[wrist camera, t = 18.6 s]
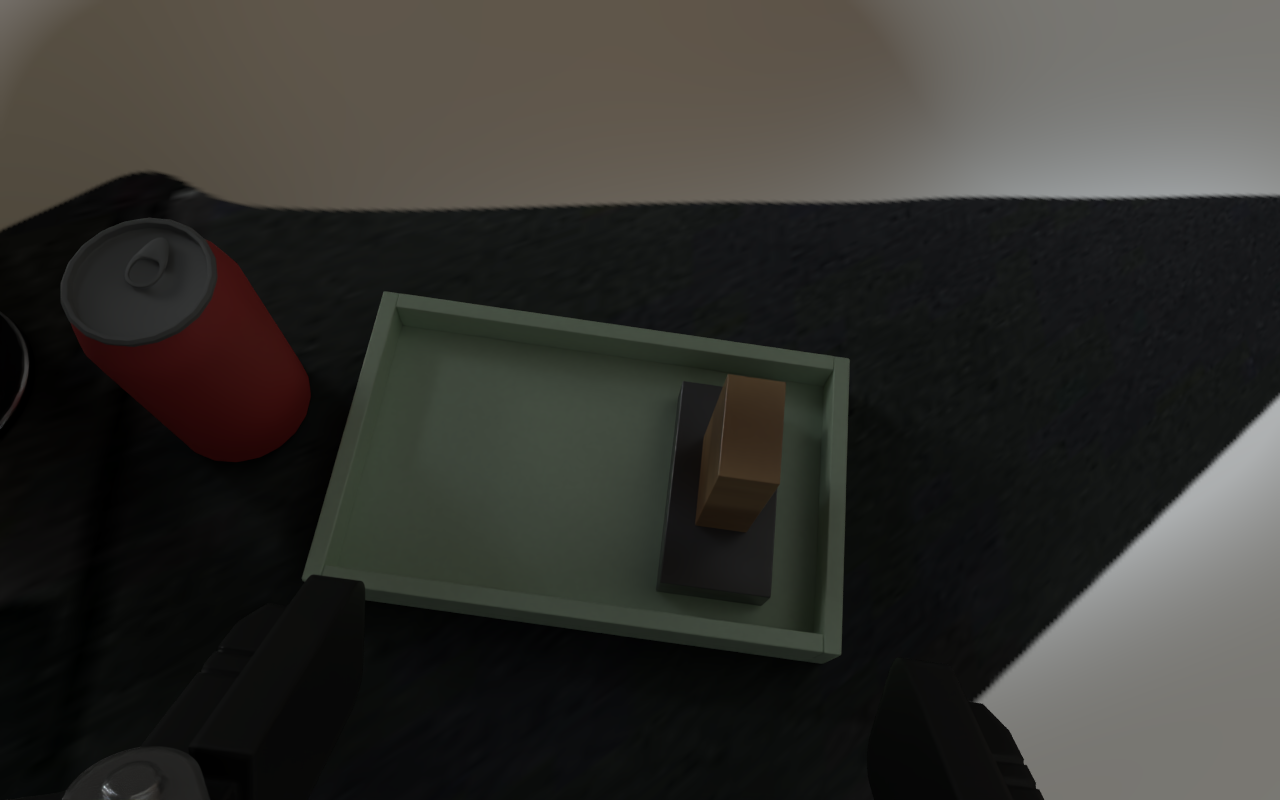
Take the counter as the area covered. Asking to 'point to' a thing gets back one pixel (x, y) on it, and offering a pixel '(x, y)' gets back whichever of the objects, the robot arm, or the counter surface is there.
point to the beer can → (186, 338)
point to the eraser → (723, 491)
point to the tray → (569, 477)
